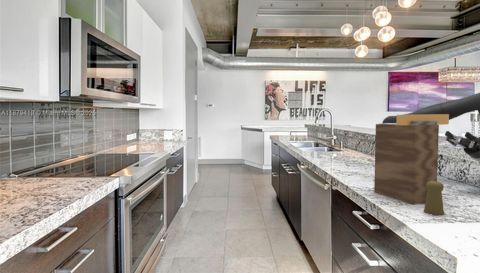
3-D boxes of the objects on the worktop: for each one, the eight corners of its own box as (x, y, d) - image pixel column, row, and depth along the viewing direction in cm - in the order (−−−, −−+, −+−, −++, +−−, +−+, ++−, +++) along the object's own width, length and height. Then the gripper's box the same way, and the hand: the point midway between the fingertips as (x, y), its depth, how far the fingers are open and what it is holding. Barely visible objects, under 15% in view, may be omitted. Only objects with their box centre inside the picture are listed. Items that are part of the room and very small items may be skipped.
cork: (441, 210, 110) (442, 180, 109) (446, 216, 104) (447, 183, 103) (421, 209, 112) (422, 179, 111) (425, 214, 106) (427, 182, 105)
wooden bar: (405, 125, 117) (406, 114, 117) (396, 125, 121) (396, 114, 121) (448, 124, 124) (449, 114, 124) (438, 124, 128) (438, 114, 128)
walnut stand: (412, 204, 118) (415, 121, 115) (374, 192, 137) (375, 120, 134) (436, 201, 121) (439, 120, 119) (395, 189, 140) (397, 120, 138)
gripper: (465, 142, 141) (443, 125, 136) (500, 145, 127) (477, 126, 122) (459, 156, 140) (436, 140, 135) (493, 161, 127) (469, 142, 122)
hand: (456, 133), depth 129 cm, fingers open, 8 cm apart
